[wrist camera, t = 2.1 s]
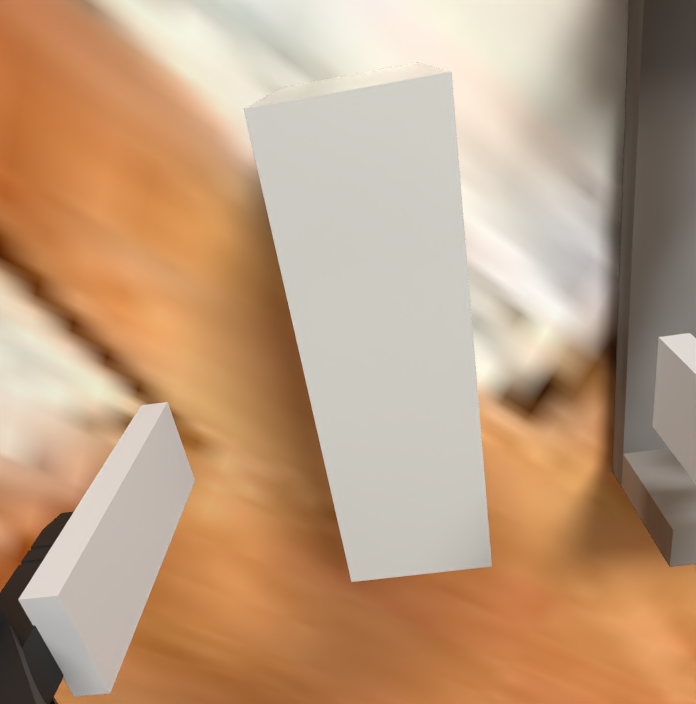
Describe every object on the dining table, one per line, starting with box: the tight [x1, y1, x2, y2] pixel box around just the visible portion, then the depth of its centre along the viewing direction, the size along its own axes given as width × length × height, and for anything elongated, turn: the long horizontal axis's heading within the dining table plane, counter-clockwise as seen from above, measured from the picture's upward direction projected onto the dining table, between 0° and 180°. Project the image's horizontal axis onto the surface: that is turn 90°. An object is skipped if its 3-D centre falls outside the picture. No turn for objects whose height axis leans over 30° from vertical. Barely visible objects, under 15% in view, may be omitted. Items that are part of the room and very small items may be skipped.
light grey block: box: [244, 62, 492, 582], centre depth 22 cm, size 5×16×9 cm, turn 10°
